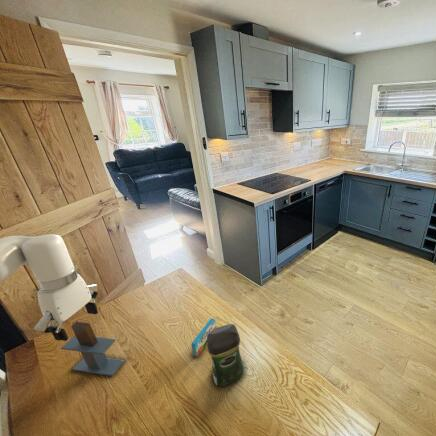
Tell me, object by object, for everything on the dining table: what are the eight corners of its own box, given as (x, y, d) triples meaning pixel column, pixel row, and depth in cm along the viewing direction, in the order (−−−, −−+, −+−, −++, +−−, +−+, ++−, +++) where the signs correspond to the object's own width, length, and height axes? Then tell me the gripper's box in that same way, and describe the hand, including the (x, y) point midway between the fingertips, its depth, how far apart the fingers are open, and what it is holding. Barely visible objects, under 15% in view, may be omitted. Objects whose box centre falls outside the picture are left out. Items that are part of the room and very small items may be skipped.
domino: (79, 345, 73) (70, 326, 70) (85, 339, 75) (76, 321, 72) (93, 346, 73) (84, 328, 70) (98, 341, 75) (90, 322, 71)
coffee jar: (239, 356, 82) (235, 317, 75) (246, 377, 76) (242, 336, 69) (210, 369, 78) (203, 328, 71) (215, 392, 72) (208, 350, 64)
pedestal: (73, 371, 77) (60, 347, 72) (87, 356, 81) (76, 334, 77) (112, 377, 75) (102, 353, 71) (124, 362, 80) (115, 339, 76)
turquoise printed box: (213, 329, 93) (211, 317, 90) (216, 330, 93) (214, 318, 90) (193, 356, 82) (190, 344, 80) (197, 357, 82) (194, 345, 79)
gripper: (76, 260, 72) (93, 303, 79) (7, 300, 56) (35, 349, 63) (98, 262, 71) (113, 305, 78) (35, 303, 56) (61, 353, 62)
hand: (78, 325), depth 71 cm, fingers open, 9 cm apart
